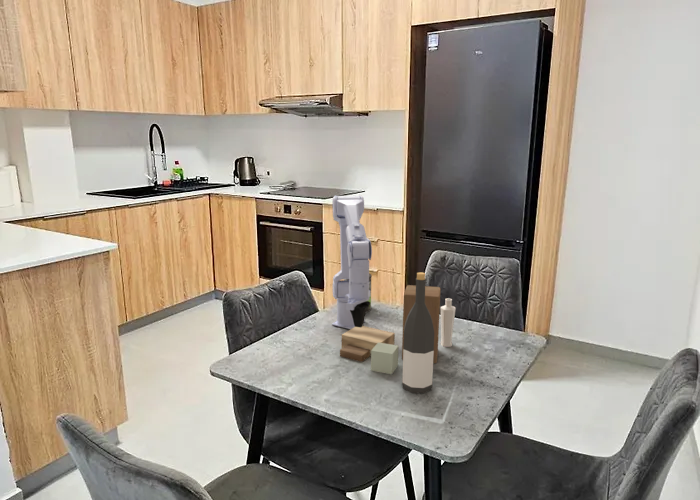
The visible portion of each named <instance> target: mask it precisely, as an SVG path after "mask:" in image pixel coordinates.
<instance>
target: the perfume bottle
mask: <svg viewBox="0 0 700 500" xmlns="http://www.w3.org/2000/svg"><path fill="white" fill-rule="evenodd" d="M452 301H453V299H452V298H450V297H448V298H445V304H444V305H442V306H440V338H441V339H440V340H441V341H440V345H441V346H442V347H446V348H451V347H452V345H453V334H454V333H453V332H454V324H455V318H456V317H455V315H456V309H457V307H455V306H454V305H452V304H453V302H452Z"/></svg>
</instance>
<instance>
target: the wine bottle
mask: <svg viewBox="0 0 700 500" xmlns="http://www.w3.org/2000/svg"><path fill="white" fill-rule="evenodd" d="M426 282H427V278H426V273H425V272H423V271H422V272H416V278H415V286H416V298H415V304H414V305H413V307H412V309H411V310H410V312H409V314H408V316H407V319H406V322H405V326H404V347H403V360H402V384H401V385H402V389H404V390H405V391H407V392H409V393H411V394H425V393H427V392H429V391H430V392H431V391H432V389H433V374H434V372H433V371H434V363H433V354H434V327H433V322H432V318H431V315H430V313H429V311H428V309H427V307H426V305H425V286H426Z"/></svg>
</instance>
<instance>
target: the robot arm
mask: <svg viewBox="0 0 700 500" xmlns="http://www.w3.org/2000/svg"><path fill="white" fill-rule="evenodd" d="M364 211H365V200H364V197H363V196H362V195H361V194H360V195H334V196H333V197H332V219H333V221H335V222H338V225H339V239H340V241H339V242H340V270H339V271H337V273H335V274H334V275H333V277H332V297H333V299H335V300H336V321H334V322H332V323H331V325H332V326H335V327H339V328H344V329H348V330H351V329H352V328H354V327H362V326H364V323H365V322H366V320H365V319H366V318H365V317H366V315H367V313H368V312H367V309H368V307H369V305H370V302H369V301H368V300H369V298H370V290H369V273H370V261H371V260H372V254H373V249H372V248H373V247H372V242H371V240H370V238H368V237H367V233H366V230H365V226H364V225H363V224H362V223H360V220H361V218H362V217H363V213H364ZM344 279H349V280H344Z"/></svg>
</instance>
